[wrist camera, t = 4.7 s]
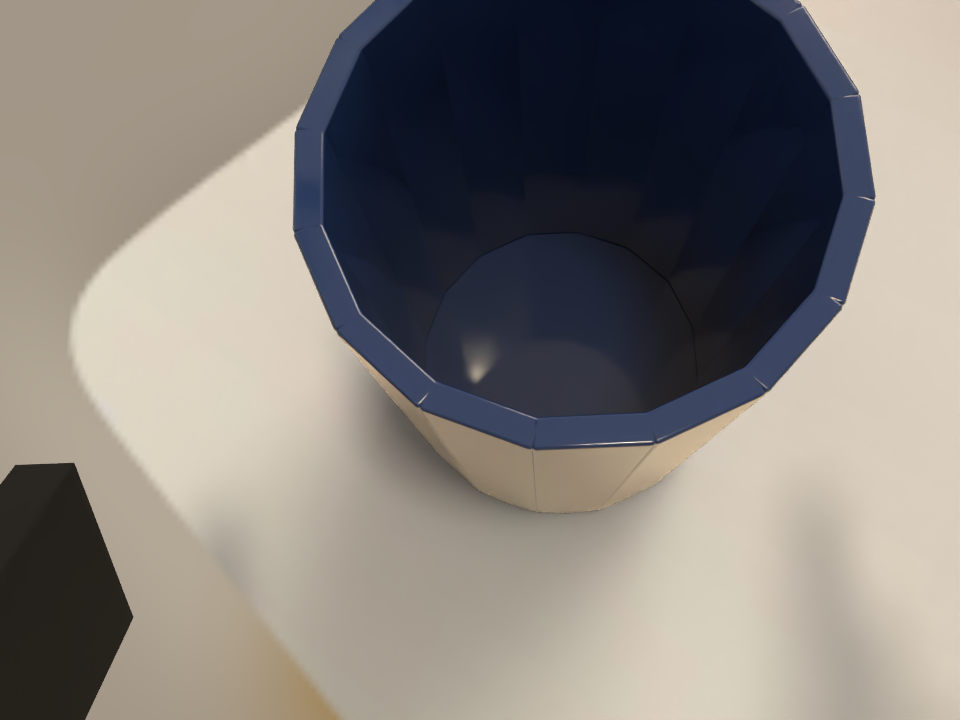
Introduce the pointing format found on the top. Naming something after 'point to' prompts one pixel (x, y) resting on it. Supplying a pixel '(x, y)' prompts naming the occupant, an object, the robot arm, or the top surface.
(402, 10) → the cup
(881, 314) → the top surface
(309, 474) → the top surface
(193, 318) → the top surface
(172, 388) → the top surface
